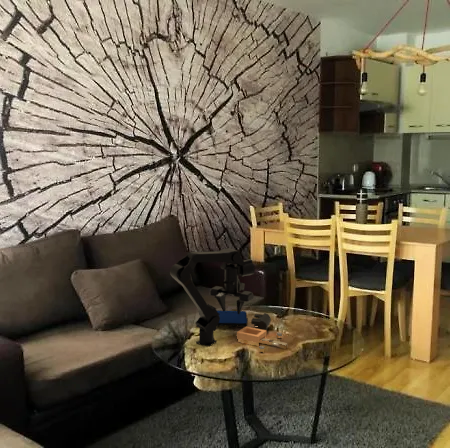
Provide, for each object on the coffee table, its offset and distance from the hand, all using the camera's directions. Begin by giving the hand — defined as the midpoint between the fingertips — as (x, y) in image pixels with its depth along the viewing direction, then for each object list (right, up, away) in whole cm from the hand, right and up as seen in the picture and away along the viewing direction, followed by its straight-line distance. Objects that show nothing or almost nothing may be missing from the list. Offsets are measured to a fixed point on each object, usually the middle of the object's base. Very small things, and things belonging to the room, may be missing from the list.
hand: (231, 312), depth 242 cm
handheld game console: (0, -9, +17) cm, 19 cm away
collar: (+9, -12, -3) cm, 15 cm away
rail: (+13, -12, -5) cm, 18 cm away
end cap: (+14, -10, +9) cm, 19 cm away
